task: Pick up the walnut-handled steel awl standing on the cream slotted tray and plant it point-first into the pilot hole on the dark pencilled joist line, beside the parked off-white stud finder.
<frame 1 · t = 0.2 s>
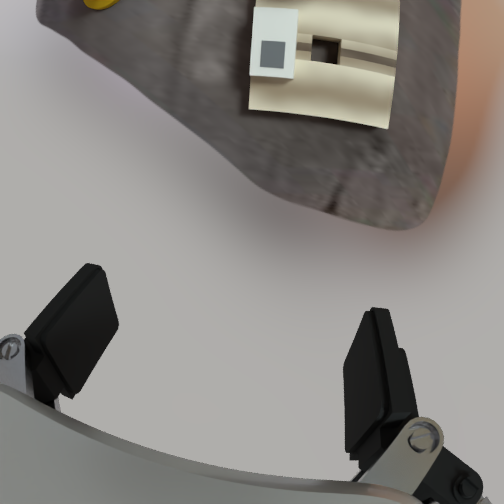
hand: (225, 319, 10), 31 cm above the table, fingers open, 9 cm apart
stud finder: (275, 44, 28), resting on cream slotted tray
cream slotted tray: (326, 30, 28), on the table
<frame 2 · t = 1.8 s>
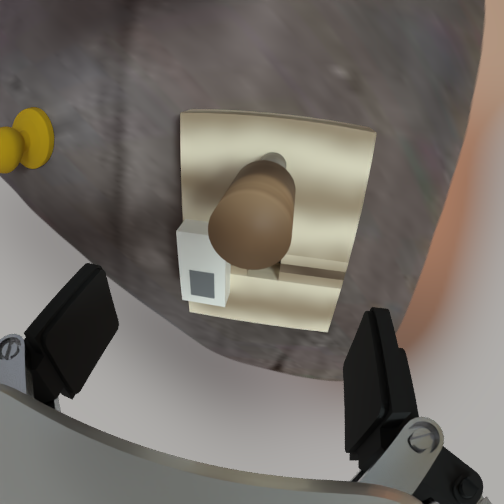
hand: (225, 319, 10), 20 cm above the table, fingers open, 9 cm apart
stud finder: (208, 257, 30), resting on cream slotted tray
cream slotted tray: (269, 223, 31), on the table
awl: (273, 165, 25), point 3 cm above the table, touching cream slotted tray
doorknob: (35, 136, 29), on the table
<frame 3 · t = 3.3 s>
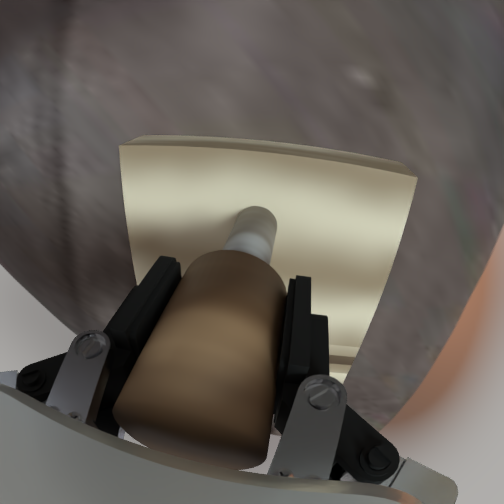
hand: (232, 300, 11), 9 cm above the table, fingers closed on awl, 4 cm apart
cream slotted tray: (255, 291, 23), on the table
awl: (256, 224, 17), point 3 cm above the table, touching gripper, cream slotted tray
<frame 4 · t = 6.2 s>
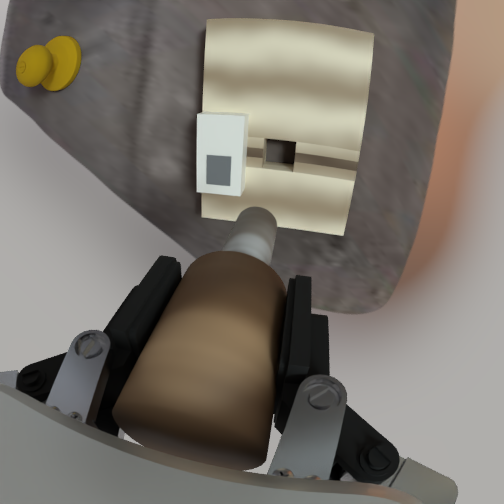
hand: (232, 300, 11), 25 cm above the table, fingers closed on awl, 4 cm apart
stud finder: (225, 150, 30), resting on cream slotted tray
cream slotted tray: (283, 122, 31), on the table
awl: (256, 225, 17), point 19 cm above the table, touching gripper
doorknob: (61, 62, 29), on the table
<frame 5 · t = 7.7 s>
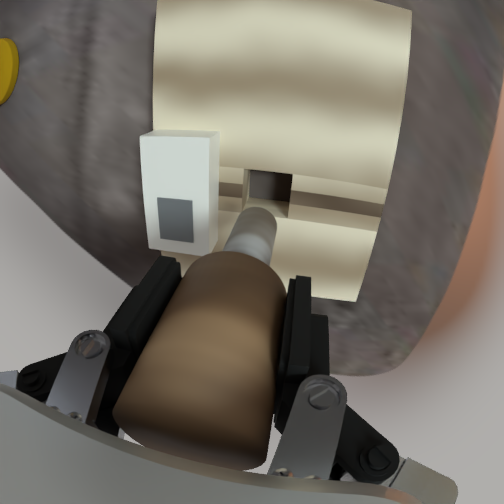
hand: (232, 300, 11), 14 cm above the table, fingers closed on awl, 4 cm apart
stud finder: (187, 186, 21), resting on cream slotted tray
cream slotted tray: (274, 141, 21), on the table
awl: (256, 225, 17), point 8 cm above the table, touching gripper
doorknob: (1, 71, 20), on the table
when the fingers open (8 cm above the table, at t = 9.1 s): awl drops 2 cm, resting in cream slotted tray.
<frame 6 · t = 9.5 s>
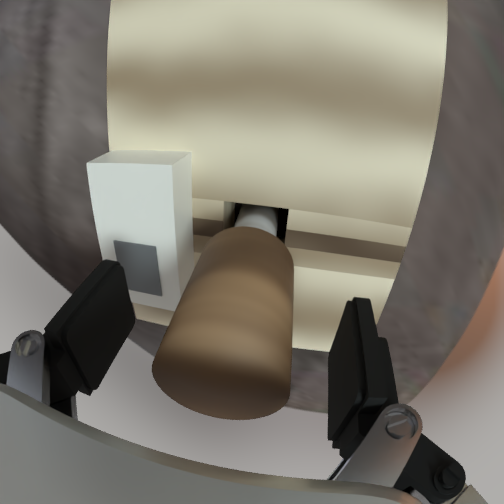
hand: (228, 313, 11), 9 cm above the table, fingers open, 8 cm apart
stud finder: (154, 221, 16), resting on cream slotted tray
cream slotted tray: (265, 161, 17), on the table
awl: (260, 209, 18), resting in cream slotted tray
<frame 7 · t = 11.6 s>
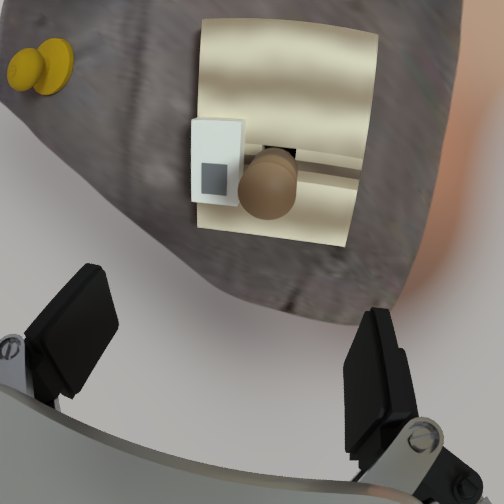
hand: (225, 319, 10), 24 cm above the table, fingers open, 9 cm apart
stud finder: (221, 157, 29), resting on cream slotted tray
cream slotted tray: (282, 128, 29), on the table
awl: (279, 155, 31), resting in cream slotted tray
doorknob: (54, 65, 28), on the table
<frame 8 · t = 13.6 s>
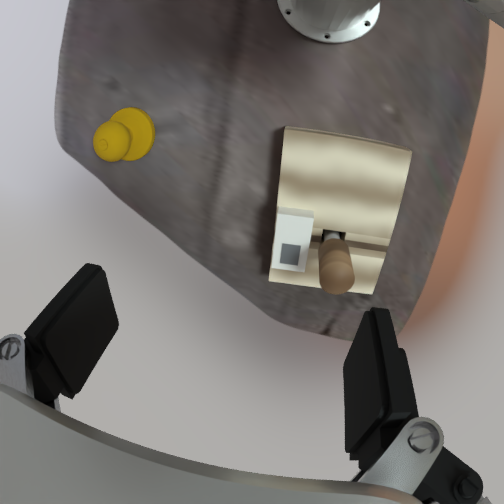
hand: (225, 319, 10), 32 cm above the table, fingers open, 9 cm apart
stud finder: (292, 235, 41), resting on cream slotted tray
cream slotted tray: (334, 212, 42), on the table
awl: (330, 230, 43), resting in cream slotted tray
doorknob: (132, 133, 40), on the table
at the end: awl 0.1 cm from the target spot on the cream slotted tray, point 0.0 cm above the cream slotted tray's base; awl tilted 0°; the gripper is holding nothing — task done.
